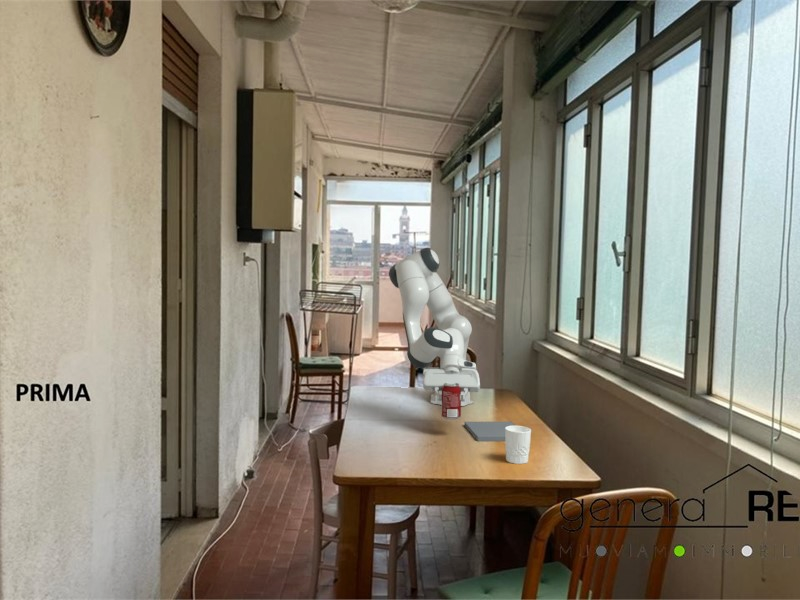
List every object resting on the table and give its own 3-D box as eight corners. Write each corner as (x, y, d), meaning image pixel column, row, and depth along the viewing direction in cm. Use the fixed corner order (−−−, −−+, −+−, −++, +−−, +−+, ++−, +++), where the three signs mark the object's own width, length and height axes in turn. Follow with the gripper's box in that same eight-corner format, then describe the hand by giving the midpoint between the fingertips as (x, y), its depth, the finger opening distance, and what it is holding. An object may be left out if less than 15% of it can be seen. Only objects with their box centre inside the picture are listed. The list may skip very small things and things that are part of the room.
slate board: (464, 425, 228) (464, 421, 228) (510, 425, 230) (511, 421, 230) (477, 441, 208) (478, 436, 208) (528, 440, 210) (528, 436, 210)
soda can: (459, 420, 210) (460, 386, 209) (440, 419, 211) (440, 385, 210) (461, 416, 216) (462, 382, 216) (442, 415, 218) (443, 381, 217)
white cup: (501, 456, 192) (502, 425, 191) (525, 456, 192) (527, 425, 192) (507, 464, 184) (508, 432, 183) (533, 464, 185) (534, 432, 184)
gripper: (423, 361, 221) (421, 394, 211) (480, 363, 218) (480, 396, 209) (423, 371, 225) (421, 404, 216) (479, 373, 223) (479, 406, 214)
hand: (451, 400), depth 213 cm, fingers closed on soda can, 7 cm apart
